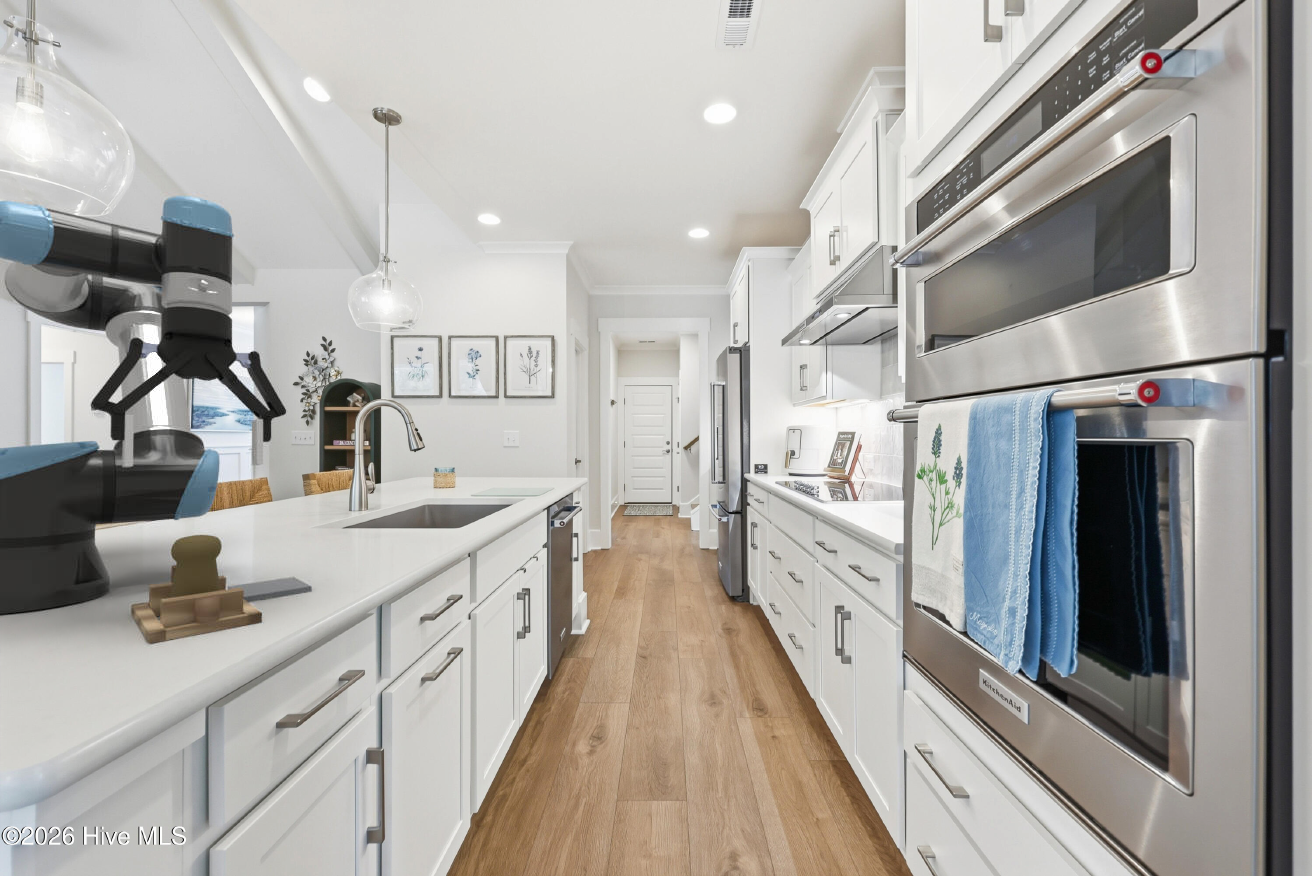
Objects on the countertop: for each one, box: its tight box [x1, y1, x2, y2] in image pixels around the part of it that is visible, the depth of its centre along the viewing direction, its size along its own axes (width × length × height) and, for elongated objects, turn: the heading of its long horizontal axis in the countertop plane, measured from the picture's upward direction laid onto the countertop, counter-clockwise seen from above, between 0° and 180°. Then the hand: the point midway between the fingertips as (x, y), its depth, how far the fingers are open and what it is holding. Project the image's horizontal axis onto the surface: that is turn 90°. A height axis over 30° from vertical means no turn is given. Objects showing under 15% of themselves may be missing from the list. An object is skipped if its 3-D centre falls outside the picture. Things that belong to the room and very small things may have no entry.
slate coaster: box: [227, 576, 312, 603], centre depth 87 cm, size 9×9×1 cm
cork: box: [170, 534, 223, 598], centre depth 74 cm, size 6×6×11 cm
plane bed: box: [130, 564, 263, 644], centre depth 74 cm, size 17×11×6 cm, turn 49°
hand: (196, 466), depth 74 cm, fingers open, 13 cm apart
